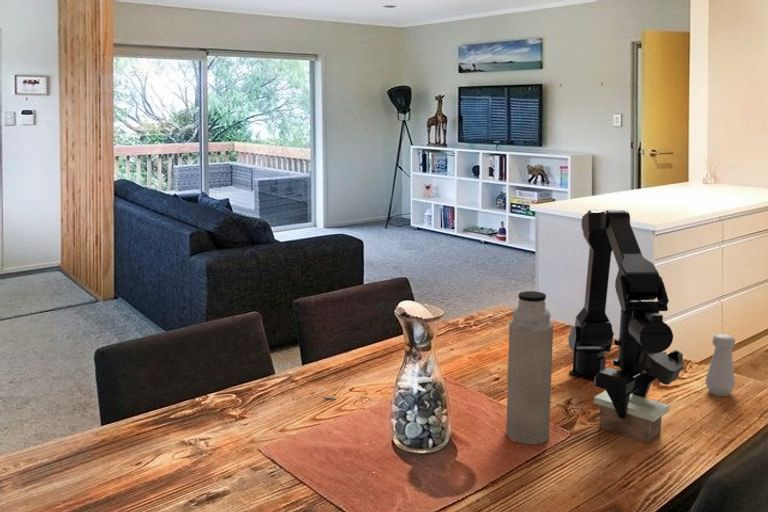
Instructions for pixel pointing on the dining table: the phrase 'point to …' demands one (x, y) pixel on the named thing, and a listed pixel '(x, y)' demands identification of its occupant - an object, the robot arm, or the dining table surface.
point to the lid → (636, 406)
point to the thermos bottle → (529, 370)
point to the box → (629, 425)
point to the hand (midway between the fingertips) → (630, 412)
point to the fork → (328, 397)
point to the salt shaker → (721, 366)
